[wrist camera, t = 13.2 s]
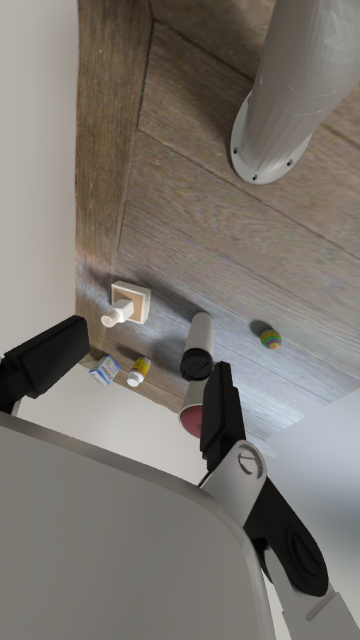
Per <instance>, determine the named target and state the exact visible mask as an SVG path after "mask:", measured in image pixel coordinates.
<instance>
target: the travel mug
mask: <svg viewBox="0 0 360 640" xmlns="http://www.w3.org/2000/svg"><path fill="white" fill-rule="evenodd" d="M180 370H181V373H182V375H183V376H182V378H184V379H185V380H187V381H188V382H190V381H197V382H198V381H204V380H206V379H207V378H209V377H210V375H211V373H212V370H213V318H212V316H211V315H210V314H209V313H207V312H198V313H196V314H195V315H194V316H193V318H192V322H191V326H190V330H189V334H188V337H187V341H186V345H185V349H184V353H183V358H182V361H181V365H180Z"/></svg>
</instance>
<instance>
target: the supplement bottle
mask: <svg viewBox="0 0 360 640" xmlns="http://www.w3.org/2000/svg"><path fill="white" fill-rule="evenodd" d="M150 365H151V362H150V360H149V359H148V358H146V357H139V358H138V360H137V361H136V363H135V364H134V366H133V367H132V369H131V371H130V372H129V374H128V376H129V378H128V380H127V382H128V384H129V385H131V386H134V387H135V386H138V384H139V383H140V382H142V381H143V379H144V377H145V375H146V373H147V371H148V369H149V367H150Z"/></svg>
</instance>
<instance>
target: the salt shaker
mask: <svg viewBox="0 0 360 640" xmlns="http://www.w3.org/2000/svg"><path fill="white" fill-rule="evenodd" d="M133 313H134V307H133V301H132V300H125V299H120V300H118V301H117V302H115V303H114V304H112V305H111V306H109V307H108V313H106V314H105V315H104V316H102V318H101V321H102V323H103V324H104V325H105V326H107V327H112V326H114V325H115V324H116V323H117V322H124V321H125V320H126V319H127V318H129V317H130V316H131V315H132V314H133Z"/></svg>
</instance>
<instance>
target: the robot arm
mask: <svg viewBox="0 0 360 640" xmlns="http://www.w3.org/2000/svg"><path fill="white" fill-rule="evenodd" d="M359 82H360V0H276V1H275V5H274V9H273V13H272V16H271V20H270V24H269V28H268V32H267V35H266V39H265V43H264V47H263V51H262V55H261V58H260V62H259V66H258V70H257V74H256V78H255V81H254V85H253V89H252V90H251V91H250V93H249V94H248V95H247V97H246V99H245V100H244V102H243V103H242V105H241V107H240V109H239V112H238V114H237V116H236V119H235V122H234V125H233V130H232V135H231V142H230V155H231V162H232V165H233V168H234V170H235V172H236V173H237V175H238V176H239V177H240V178H241V179H242V180H243V181H245V182H246V183H248V184H251V185H265V184H268V183H271V182H273V181H275V180H277V179H278V178H280V177H282V176H283V175H284V174H285V173H286V172H288V171H289V170H290V169H291V168H292V167H293V166H294V165H295V163H296V162H297V161H298V160H299V158H300V157H301V155H302V154H303V152H304V151H305V149H306V147H307V145H308V143H309V141H310V139H311V137H312V134H313V131H314V130H315V129H316V128H317V127H318V126H319V125H320V123H321V122H322V121H323V120H324V119H325V118H326V117H327V116H328V115H329V114H330V113H331V112H332V111H333V110H334V109H335V107H336V106H337V105H338V104H339V103H340V102H341V101H342V100H343V99H344V98H345V97H346V96H347V95H348V94H349V93H350V91H351V90H352V89H353V88H354V87H355V86H356V85H357V84H358V83H359ZM248 103H249V104H248ZM234 151H236V152H237V153H236V154H234ZM287 163H289V166H287ZM253 178H255V180H254V181H253ZM89 351H90V345H89V337H88V329H87V322H86V320H85V318H83V317H80V316H77V315H73V316H71V317H69V318H68V319H66V320H64V321H62V322H60V323H59V324H57V325H55V326H53V327H51V328H50V329H48V330H46V331H44V332H42V333H41V334H39V335H37V336H35V337H33V338H32V339H30V340H28V341H26V342H24V343H22V344H21V345H19V346H17V347H15V348H13V349H12V350H10V351H8V352H6V353H5V354H4V356H5V357H4V358H3V359H1V357H0V640H276V637H275V631H274V625H273V621H272V615H271V610H270V605H269V600H268V595H267V591H266V587H265V582H264V578H263V575H262V571H261V568H262V570H263V572H264V573H265V575H266V576H267V578H268V579H269V581H270V582H271V583H272V584H273V585H274V587H275V590H276V592H277V595H278V597H279V600H280V603H281V605H282V608H283V610H284V611H283V612H282V614H283V617H284V620H285V622H286V625H287V627H288V630H289V633H290V636H291V639H292V640H360V630H359V628H358V626H357V624H356V622H355V621H354V619H353V617H352V615H351V613H350V612H349V610H348V608H347V606H346V604H345V602H344V601H343V599H342V597H341V595H340V593H339V592H335V591H334V589H333V587H332V585H331V584H330V582H329V578H328V573H327V568H326V564H325V562H324V558H323V556H322V553H321V551H320V549H319V547H318V545H317V543H316V542H315V540H314V538H313V537H312V535H311V534H310V532H309V531H308V530H307V528H306V527H305V526H304V524H303V523H302V522H301V520H300V519H299V518H298V516H297V515H296V514H295V512H294V511H293V510H292V508H291V507H290V506H289V504H288V503H287V502H286V500H285V499H284V498H283V496H282V495H281V494H280V492H279V491H278V490H277V488H276V487H275V486H274V484H273V483H272V482H271V480H270V479H269V478H268V476H267V468H266V464H265V461H264V459H263V457H262V455H261V453H260V452H259V450H258V449H257V448H256V447H255V446H254V445H253V444H252V443H250V442H248V441H246V435H245V429H244V423H243V417H242V410H241V404H240V398H239V392H238V389H237V388H236V387H234V386H233V382H232V374H231V367H230V363H226V362H223V361H220V363H219V362H217V363H216V365H215V367H214V369H213V371H212V373H211V375H210V377H209V379H208V381H207V383H206V385H205V387H204V391H203V405H202V420H201V435H200V451H201V452H203V454H202V458H203V459H205V460H207V470H208V472H207V473H206V474H205V476H204V477H203V478H202V479H201V481H200V482H199V483H198V484H197V486H196V485H194V484H192V483H189V482H188V481H185V480H183V479H181V478H178V477H176V476H174V475H171V474H169V473H166V472H164V471H161V470H158V469H156V468H154V467H151V466H149V465H146V464H143V463H140V462H138V461H135V460H132V459H130V458H127V457H124V456H121V455H119V454H116V453H113V452H111V451H108V450H106V449H103V448H100V447H97V446H95V445H92V444H89V443H87V442H84V441H81V440H78V439H76V438H73V437H70V436H67V435H65V434H62V433H59V432H57V431H54V430H51V429H48V428H45V427H42V426H40V425H37V424H34V423H32V422H29V421H26V420H23V419H21V418H18V417H16V415H17V412H18V409H19V406H20V403H21V399H22V397H24V396H25V395H27V396H28V397H31V398H33V399H36V398H37V397H38V396H39V395H41V394H44V393H45V392H46V391H47V390H48V389H49V388H51V387H52V386H53V385H54V384H55V383H56V382H57V381H58V380H59V379H60V378H61V377H63V376H64V375H65V374H66V373H67V372H68V371H69V370H70V369H71V368H72V367H73V366H75V365H76V364H77V363H78V362H79V361H80V360H81V359H82V358H83V357H84V356H85V355H87V354H88V352H89ZM260 566H261V567H260Z"/></svg>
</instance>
